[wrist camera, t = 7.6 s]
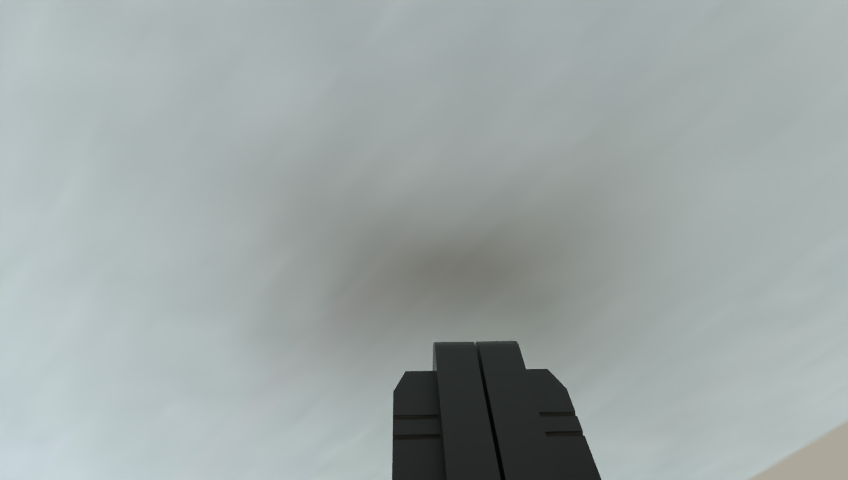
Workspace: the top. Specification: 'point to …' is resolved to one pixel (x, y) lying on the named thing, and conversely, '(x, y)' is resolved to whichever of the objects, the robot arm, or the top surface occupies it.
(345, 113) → the top surface
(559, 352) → the top surface
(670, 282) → the top surface
